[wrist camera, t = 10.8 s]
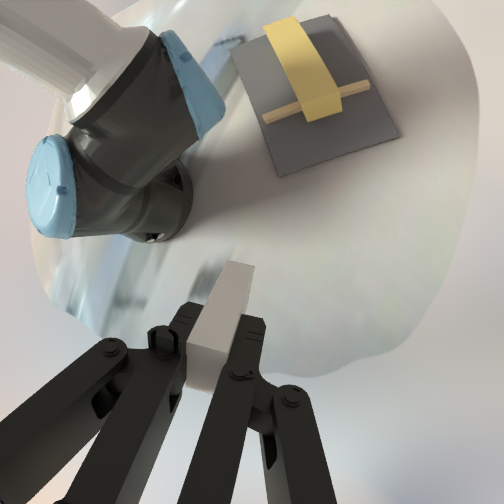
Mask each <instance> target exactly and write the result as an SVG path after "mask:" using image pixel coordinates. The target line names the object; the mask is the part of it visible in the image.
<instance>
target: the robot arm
mask: <svg viewBox="0 0 504 504" xmlns="http://www.w3.org/2000/svg"><path fill="white" fill-rule="evenodd" d="M0 63H2V64H3V65H6V66H7V67H9V68H10V69H12V70H14V71H15V72H17V73H19V74H21V75H22V76H24V77H26V78H28V79H29V80H31V81H33V82H34V83H36V84H38V85H39V86H41V87H43V88H44V89H46V90H48V91H49V92H51V93H53V94H54V95H56V96H57V97H59V98H61V99H62V101H63V104H64V111H65V119H66V121H67V122H69V123H70V124H72V125H74V126H73V128H72V129H71V130H70V131H69V133H68V134H67V135H66V136H65V137H62V136H61V135H59V134H55V135H50V136H47V137H45V138H43V139H42V140H41V141H40V142H39V144H38V145H37V147H36V148H35V151H34V153H33V155H32V158H31V161H30V164H29V168H28V174H27V184H26V198H27V206H28V211H29V215H30V218H31V221H32V223H33V225H34V226H35V228H36V229H37V231H38V232H39V233H41V234H42V235H44V236H46V237H49V238H63V239H69V238H71V237H84V236H97V235H111V234H121V235H124V236H126V237H128V238H130V239H133V240H135V241H137V242H141V243H156V242H162V241H165V240H167V239H169V238H171V237H172V236H173V235H175V234H176V233H177V232H178V231H179V230H180V229H181V227H182V226H183V225H184V223H185V221H186V219H187V217H188V215H189V212H190V209H191V204H192V195H193V194H192V183H191V179H190V176H189V174H188V171H187V170H186V168H185V166H184V165H183V164H182V163H181V162H180V161H179V160H178V159H177V157H179V156H180V155H181V154H182V153H183V152H184V151H186V150H187V149H188V148H189V147H190V146H191V145H193V144H194V143H195V142H196V141H197V140H199V141H201V140H202V139H203V136H204V135H205V134H206V133H207V132H208V131H209V130H210V129H212V128H213V127H214V126H215V125H216V124H217V123H219V122H220V121H221V119H222V118H223V117H224V114H225V110H226V108H225V103H224V101H223V99H222V98H221V96H220V95H219V93H218V92H217V90H216V89H215V87H214V86H213V84H212V83H211V81H210V80H209V78H208V77H207V76H206V74H205V73H204V71H203V70H202V69H201V67H200V66H199V65H198V63H197V62H196V60H195V59H194V58H193V56H192V55H191V53H190V52H189V51H188V49H187V48H186V47H185V45H184V44H183V42H182V41H181V40H180V38H179V37H178V36H177V34H176V33H175V32H174V31H173V30H168V31H166V32H162V33H161V34H160V35H159V37H158V36H156V35H155V34H154V33H153V32H152V31H151V30H150V29H148V28H147V27H146V26H139V27H128V28H124V27H121V26H119V25H118V24H117V23H116V22H114V21H113V20H112V19H111V18H109V17H108V16H107V15H105V14H104V13H103V12H101V11H100V10H99V9H97V8H96V7H95V6H93V5H92V4H91V3H90V2H88V1H87V0H0ZM254 268H255V266H251V265H247V264H242V263H238V262H233V261H229V260H227V262H226V264H225V266H224V268H223V270H222V272H221V274H220V276H219V278H218V280H217V282H216V283H215V285H214V287H213V289H212V291H211V293H210V295H209V297H208V299H207V301H206V303H205V305H200V304H196V303H193V302H189V301H188V302H187V303H185V304H184V305H182V306H180V308H179V310H178V311H177V313H176V315H175V316H174V318H173V320H172V321H171V323H170V324H169V326H165V325H162V326H156V327H154V328H151V329H150V330H149V331H148V332H147V334H148V346H149V348H147V349H130V348H127V346H126V344H125V343H124V342H123V341H122V340H120V339H118V338H105V339H103V340H101V341H99V342H98V343H97V344H95V345H94V346H93V347H92V348H90V349H89V350H88V351H87V352H85V353H84V354H83V355H82V356H80V357H79V358H78V359H76V360H75V361H74V362H73V363H72V364H70V365H69V366H68V367H67V368H65V369H64V370H63V371H62V372H60V373H59V374H58V375H57V376H55V377H54V378H53V379H52V380H50V381H49V382H48V383H47V384H45V385H44V386H43V387H42V388H41V389H40V390H39V391H37V392H36V393H35V394H33V395H32V396H31V397H30V398H28V399H27V400H26V401H25V402H24V403H22V404H21V405H20V406H19V407H18V408H16V409H15V410H14V411H13V412H12V413H10V414H9V415H8V416H7V417H6V418H5V419H3V420H2V421H1V422H0V504H26V503H27V502H28V501H30V500H31V499H32V498H33V497H34V496H35V494H37V493H38V492H39V491H40V490H41V489H42V488H43V487H44V486H45V485H46V484H47V483H48V482H49V481H50V480H51V479H52V478H53V477H54V476H55V475H56V474H57V473H58V472H59V471H60V470H61V469H62V468H63V467H64V466H65V465H66V464H67V463H68V462H69V461H70V460H71V459H72V458H73V457H74V456H75V455H76V454H77V453H78V452H79V451H80V450H81V449H82V448H83V447H84V446H85V445H86V444H87V443H88V442H89V441H90V440H91V439H92V438H93V437H94V436H95V435H96V434H97V433H98V432H99V431H100V432H99V434H98V436H97V437H96V439H95V441H94V443H93V445H92V447H91V448H90V450H89V452H88V454H87V456H86V458H85V460H84V461H83V463H82V465H81V467H80V469H79V471H78V473H77V474H76V476H75V478H74V480H73V482H72V484H71V486H70V488H69V490H68V492H67V494H66V495H65V497H64V498H63V499H62V500H59V501H56V502H54V503H53V504H138V503H139V501H140V498H141V496H142V493H143V491H144V488H145V486H146V483H147V481H148V478H149V476H150V473H151V471H152V468H153V466H154V463H155V461H156V458H157V456H158V453H159V451H160V448H161V446H162V443H163V441H164V439H165V436H166V434H167V431H168V429H169V426H170V424H171V421H172V419H173V416H174V414H175V412H176V409H177V407H178V404H179V402H180V399H181V397H182V387H183V385H184V383H185V381H186V387H188V388H191V389H195V390H198V391H202V392H206V393H209V394H213V398H212V400H211V403H210V406H209V409H208V412H207V415H206V418H205V421H204V424H203V428H202V431H201V433H200V436H199V440H198V442H197V446H196V448H195V451H194V454H193V457H192V461H191V463H190V466H189V469H188V473H187V476H186V478H185V481H184V484H183V487H182V490H181V493H180V496H179V499H178V502H177V504H230V503H231V499H232V494H233V490H234V486H235V482H236V477H237V473H238V468H239V464H240V459H241V455H242V450H243V446H244V441H245V436H246V431H247V427H249V428H251V429H253V430H255V431H257V432H259V436H260V444H261V452H262V461H263V468H264V476H265V483H266V491H267V499H268V504H337V501H336V497H335V493H334V489H333V485H332V481H331V477H330V473H329V469H328V466H327V462H326V458H325V454H324V450H323V447H322V443H321V439H320V435H319V431H318V427H317V424H316V420H315V416H314V412H313V409H312V405H311V401H310V398H309V396H308V394H307V392H305V391H304V390H303V389H302V388H300V387H298V386H296V385H283V386H281V387H279V388H278V387H276V386H274V385H272V384H270V383H269V382H267V381H266V380H265V379H263V378H262V376H261V374H260V372H259V362H260V357H261V352H262V346H263V341H264V335H265V330H266V325H265V323H264V320H263V318H258V317H254V316H249V315H245V312H246V308H247V304H248V299H249V294H250V288H251V283H252V278H253V273H254Z"/></svg>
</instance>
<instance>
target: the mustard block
mask: <svg viewBox="0 0 504 504" xmlns="http://www.w3.org/2000/svg"><path fill="white" fill-rule="evenodd" d="M263 29H264V31H265V33H266V35H267V37H268V39H269V41H270V43H271V45H272V47H273V49H274V51H275V53H276V55H277V57H278V59H279V61H280V63H281V65H282V67H283V69H284V71H285V73H286V75H287V77H288V79H289V81H290V84H291V86H292V88H293V90H294V92H295V95H296V97H297V99H298V101H299V104H300V106H301V108H302V110H303V113H304V115H305V117H306V120H307V122H311V121H314V120H317V119H320V118H323V117H326V116H329V115H332V114H335V113H338V112H342V104H341V97H340V91H339V89H338V87H337V85H336V84H335V82H334V80H333V78H332V76H331V75H330V73H329V71H328V69H327V67H326V66H325V64H324V62H323V60H322V59H321V57H320V55H319V54H318V52H317V50H316V49H315V47H314V46H313V44H312V42H311V41H310V39H309V38H308V36H307V34H306V33H305V31H304V30H303V28H302V27H301V25H300V24H299V22H298V21H297V19H296V18H295V17H294V16H292V17H289V18H286V19H283V20H280V21H277V22H274V23H271V24H268V25H266V26H263Z"/></svg>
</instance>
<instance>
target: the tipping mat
mask: <svg viewBox="0 0 504 504" xmlns="http://www.w3.org/2000/svg"><path fill="white" fill-rule="evenodd" d="M299 24H300V25H301V27H302V28H303V30H304V31H305V33H306V34H307V36H308V38H309V39H310V41H311V42H312V44H313V46H314V47H315V49H316V50H317V52H318V54H319V55H320V57H321V59H322V60H323V62H324V64H325V66H326V67H327V69H328V71H329V73H330V75H331V76H332V78H333V80H334V82H335V84H336V85H337V87H338V89H339V91H340V97H341V104H342V112H338V113H335V114H332V115H329V116H326V117H323V118H320V119H317V120H314V121H311V122H307V120H306V117H305V115H304V113H303V110H302V108H301V106H300V104H299V101H298V99H297V97H296V95H295V92H294V90H293V88H292V86H291V84H290V81H289V79H288V77H287V75H286V73H285V71H284V69H283V67H282V65H281V63H280V61H279V59H278V57H277V55H276V53H275V51H274V49H273V47H272V45H271V43H270V41H269V39H268V37H267V35H264V36H261V37H259V38H256V39H254V40H251V41H249V42H246V43H244V44H242V45H239V46H237V47H235V48H233V49H230V50H229V51H230V53H231V56H232V58H233V60H234V63H235V65H236V67H237V70H238V72H239V74H240V77H241V79H242V82H243V84H244V87H245V89H246V92H247V94H248V96H249V99H250V101H251V104H252V106H253V109H254V112H255V114H256V117H257V119H258V122H259V124H260V127H261V130H262V132H263V135H264V137H265V140H266V143H267V145H268V148H269V151H270V154H271V156H272V159H273V162H274V164H275V167H276V170H277V173H278V176H279V177H282V176H284V175H287V174H290V173H292V172H295V171H298V170H301V169H304V168H306V167H309V166H312V165H315V164H318V163H321V162H324V161H326V160H329V159H332V158H335V157H338V156H341V155H344V154H347V153H350V152H354V151H357V150H360V149H363V148H366V147H369V146H372V145H376V144H379V143H382V142H385V141H389V140H392V139H396V138H398V137H399V134H398V132H397V130H396V127H395V125H394V123H393V121H392V119H391V117H390V115H389V113H388V111H387V109H386V107H385V105H384V103H383V101H382V99H381V97H380V95H379V93H378V91H377V89H376V87H375V85H374V84H373V82H372V80H371V78H370V76H369V75H368V73H367V71H366V69H365V68H364V66H363V64H362V63H361V61H360V59H359V58H358V56H357V54H356V53H355V51H354V50H353V48H352V47H351V45H350V43H349V42H348V40H347V39H346V37H345V36H344V34H343V33H342V32H341V30H340V29H339V27H338V26H337V24H336V23H335V22H334V20H333V19H332V17H331V16H330V15H329V14H328V15H325V16H321V17H317V18H314V19H310V20H307V21H304V22H301V23H299Z"/></svg>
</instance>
